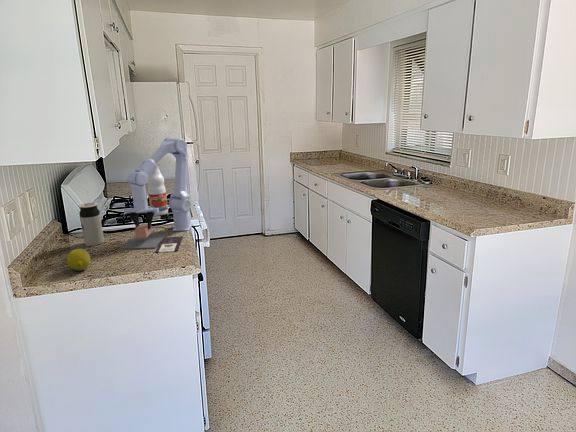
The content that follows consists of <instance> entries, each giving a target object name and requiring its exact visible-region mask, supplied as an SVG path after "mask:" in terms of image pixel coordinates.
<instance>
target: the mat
mask: <svg viewBox="0 0 576 432" xmlns="http://www.w3.org/2000/svg"><path fill="white" fill-rule="evenodd" d="M167 235H168V233H151V234H150V235H149V236H148V237H147V238H136V235H135V236H134V237H132V238H131V240H129V241H128V242H127V243H126V244H125V245H124V246H123V247H122V248H121V249H122V250H149V249H151V250H152V249H157V248H158V246H159V244H160V242H161V240H162V239H163V238H165V237H167Z"/></svg>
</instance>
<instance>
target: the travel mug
mask: <svg viewBox="0 0 576 432" xmlns="http://www.w3.org/2000/svg"><path fill="white" fill-rule="evenodd" d="M78 208H79V211H78V214H79V219H80V220H79V221H80V225H81V230H82V235H83V242H84V245H86V246H88V247H89V246H90V247H93V246H94V247H95V246H98V245H101V244H103V243H104V242H105V237H104V230H103V225H102V219H101V213H100V210H99V208H98V203H97V202H84V203H80V204H79V205H78Z"/></svg>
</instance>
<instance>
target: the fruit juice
mask: <svg viewBox="0 0 576 432" xmlns="http://www.w3.org/2000/svg"><path fill="white" fill-rule="evenodd" d="M159 166H160V165H159V163H157V164H156V169H155V170H154V171H153V172H152V173H151V174H150V175H149V177H148V181H147V183H146V184H147V186H148V188H147V194H148V195H147V196H148V200H149V201H148V203H149V207H152V208H159V212H158V213H154V216H164V215H167V214H168V213H169V204H168V200H167V190H166V185H165V177H164V176H163V174H162V173H161V171H160V168H159Z"/></svg>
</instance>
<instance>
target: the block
mask: <svg viewBox="0 0 576 432" xmlns="http://www.w3.org/2000/svg"><path fill="white" fill-rule="evenodd" d="M139 224H140V225H139V226H138V227H137V228H136V227H135V229H134V232H135V236H136V238H147V237H148V236H149V235H150V234H152V233H153V226H152V225H151V229H148V224H147V223H143V222H142V223H139Z"/></svg>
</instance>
